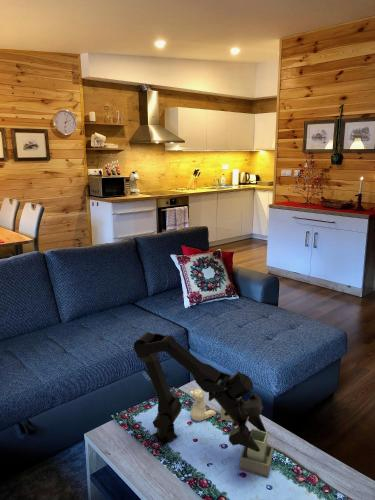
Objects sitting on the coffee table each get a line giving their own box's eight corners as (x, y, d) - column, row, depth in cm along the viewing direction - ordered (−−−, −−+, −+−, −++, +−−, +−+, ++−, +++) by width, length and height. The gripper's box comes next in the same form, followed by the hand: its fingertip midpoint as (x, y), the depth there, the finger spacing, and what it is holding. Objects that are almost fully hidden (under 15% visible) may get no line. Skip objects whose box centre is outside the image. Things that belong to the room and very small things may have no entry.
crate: (239, 469, 129) (240, 457, 128) (246, 450, 137) (246, 439, 136) (267, 477, 126) (268, 465, 125) (272, 457, 134) (273, 446, 133)
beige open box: (246, 464, 130) (248, 438, 128) (250, 453, 135) (251, 428, 132) (262, 469, 128) (264, 443, 126) (266, 458, 133) (267, 432, 130)
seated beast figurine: (216, 415, 155) (217, 387, 152) (204, 427, 149) (204, 399, 146) (196, 406, 161) (196, 379, 158) (183, 417, 154) (183, 390, 151)
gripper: (240, 409, 118) (275, 451, 117) (254, 376, 135) (285, 413, 134) (214, 425, 123) (248, 465, 122) (231, 391, 140) (261, 427, 139)
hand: (262, 441), depth 129 cm, fingers open, 9 cm apart
